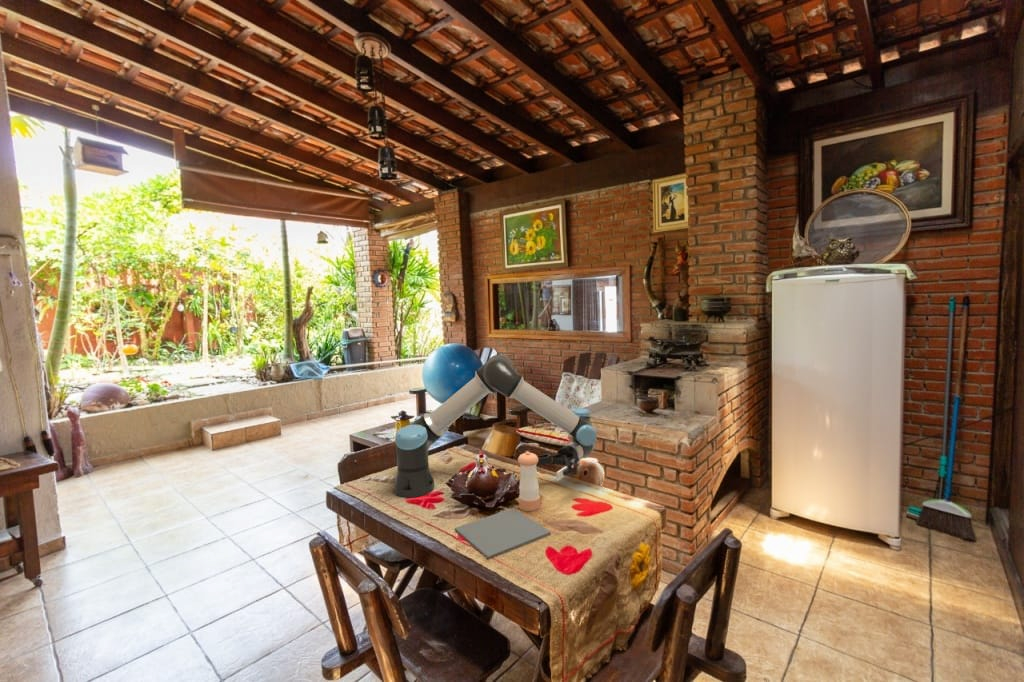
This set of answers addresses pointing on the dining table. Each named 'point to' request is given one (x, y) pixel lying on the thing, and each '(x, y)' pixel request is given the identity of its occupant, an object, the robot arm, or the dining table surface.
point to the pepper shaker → (528, 482)
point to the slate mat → (501, 532)
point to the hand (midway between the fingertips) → (540, 472)
